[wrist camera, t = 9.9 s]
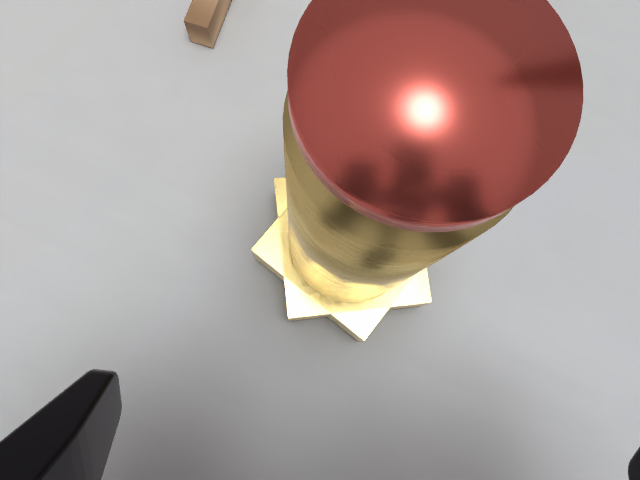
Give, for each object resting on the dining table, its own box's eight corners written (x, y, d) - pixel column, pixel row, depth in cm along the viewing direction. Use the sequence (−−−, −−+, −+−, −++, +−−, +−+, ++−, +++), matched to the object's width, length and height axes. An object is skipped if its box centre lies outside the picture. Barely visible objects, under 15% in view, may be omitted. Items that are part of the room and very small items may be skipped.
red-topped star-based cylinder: (450, 330, 21) (735, 298, 8) (263, 352, 21) (203, 359, 7) (422, 154, 23) (620, -146, 9) (247, 170, 22) (169, -121, 8)
